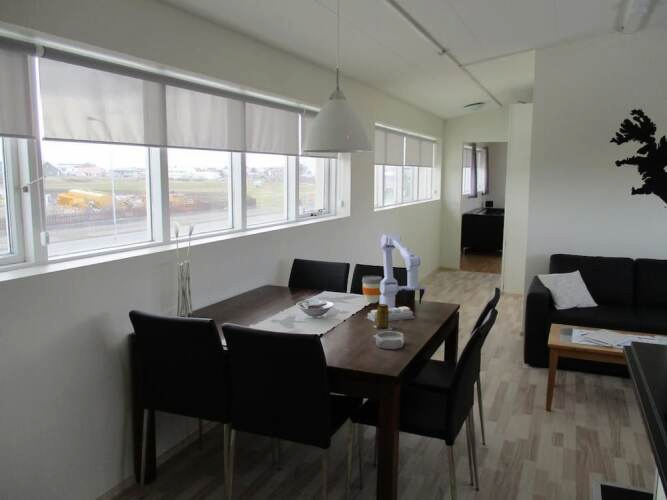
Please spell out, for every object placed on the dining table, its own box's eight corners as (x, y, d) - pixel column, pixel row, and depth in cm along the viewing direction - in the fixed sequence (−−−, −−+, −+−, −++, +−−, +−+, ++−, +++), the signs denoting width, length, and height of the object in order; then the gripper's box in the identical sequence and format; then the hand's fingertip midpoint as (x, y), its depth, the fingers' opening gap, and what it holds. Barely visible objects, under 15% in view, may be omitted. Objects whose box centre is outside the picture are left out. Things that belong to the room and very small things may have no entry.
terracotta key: (380, 314, 300) (380, 309, 300) (386, 313, 302) (387, 308, 302) (384, 316, 296) (384, 311, 296) (391, 315, 298) (391, 310, 298)
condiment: (384, 325, 287) (385, 302, 285) (393, 329, 279) (394, 306, 277) (372, 326, 283) (373, 304, 282) (381, 331, 276) (381, 307, 274)
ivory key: (398, 312, 305) (398, 307, 305) (405, 311, 307) (405, 306, 307) (402, 314, 301) (403, 309, 301) (409, 313, 303) (409, 308, 303)
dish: (402, 340, 261) (402, 330, 260) (407, 350, 247) (407, 339, 246) (372, 340, 260) (372, 330, 260) (375, 350, 247) (375, 339, 246)
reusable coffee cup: (385, 300, 340) (386, 277, 338) (375, 304, 329) (376, 280, 327) (367, 297, 346) (368, 274, 344) (357, 301, 336) (358, 277, 334)
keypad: (364, 317, 300) (364, 312, 300) (403, 312, 312) (404, 307, 311) (375, 323, 290) (375, 317, 289) (416, 317, 301) (416, 312, 301)
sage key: (370, 315, 297) (370, 310, 297) (377, 314, 299) (377, 309, 299) (374, 317, 293) (375, 312, 293) (381, 316, 295) (382, 311, 295)
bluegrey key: (389, 313, 303) (389, 308, 302) (396, 312, 305) (396, 307, 304) (393, 315, 299) (393, 310, 298) (400, 314, 301) (400, 309, 300)
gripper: (399, 279, 290) (399, 304, 291) (427, 279, 289) (427, 304, 290) (399, 277, 297) (399, 302, 298) (425, 277, 296) (425, 302, 297)
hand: (412, 303), depth 295 cm, fingers open, 7 cm apart
